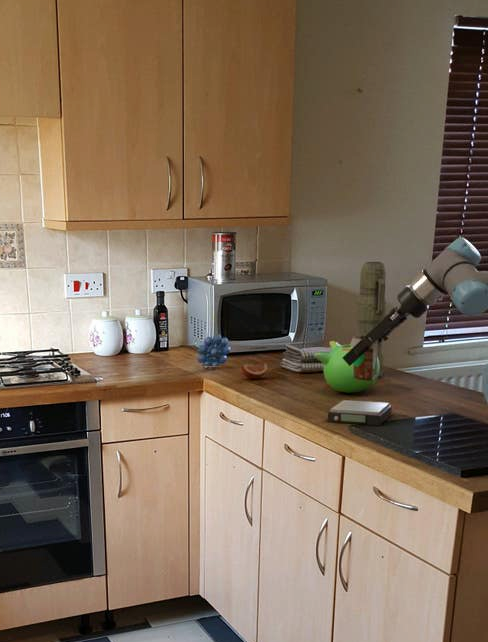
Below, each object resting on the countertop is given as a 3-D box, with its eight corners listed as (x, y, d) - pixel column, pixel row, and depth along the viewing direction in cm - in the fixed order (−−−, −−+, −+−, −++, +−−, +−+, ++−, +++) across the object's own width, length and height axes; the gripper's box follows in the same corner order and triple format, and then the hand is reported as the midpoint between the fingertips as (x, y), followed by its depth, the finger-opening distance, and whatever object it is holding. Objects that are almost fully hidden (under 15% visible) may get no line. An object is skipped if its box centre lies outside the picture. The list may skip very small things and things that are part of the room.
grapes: (227, 366, 307) (227, 331, 303) (232, 369, 300) (232, 334, 296) (194, 368, 305) (194, 333, 301) (199, 371, 298) (198, 335, 294)
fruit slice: (263, 376, 285) (263, 361, 283) (271, 379, 279) (271, 364, 277) (239, 378, 283) (239, 362, 281) (246, 381, 277) (246, 365, 275)
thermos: (368, 379, 273) (374, 263, 262) (345, 374, 283) (350, 262, 272) (391, 377, 277) (397, 261, 265) (367, 372, 287) (373, 261, 276)
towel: (301, 374, 286) (301, 350, 284) (279, 366, 303) (279, 343, 300) (343, 371, 290) (344, 347, 287) (319, 363, 307) (320, 341, 304)
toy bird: (370, 399, 244) (373, 346, 240) (311, 396, 251) (313, 344, 246) (384, 388, 260) (386, 337, 255) (328, 385, 267) (329, 336, 262)
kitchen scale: (378, 426, 213) (379, 413, 212) (326, 422, 219) (327, 409, 218) (391, 415, 224) (391, 402, 223) (341, 411, 230) (342, 399, 229)
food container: (352, 373, 224) (354, 333, 221) (376, 373, 222) (378, 333, 219) (345, 381, 213) (347, 339, 210) (371, 381, 211) (373, 340, 208)
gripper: (420, 312, 196) (350, 377, 207) (439, 302, 216) (375, 361, 228) (397, 288, 196) (329, 353, 208) (419, 280, 217) (355, 340, 228)
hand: (353, 357), depth 218 cm, fingers closed on food container, 12 cm apart
